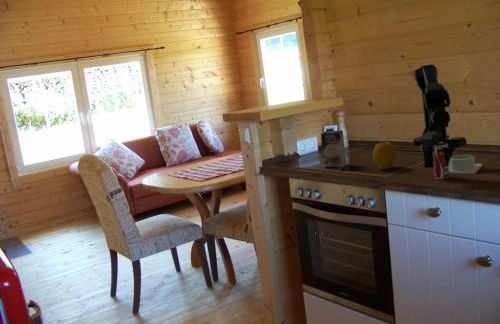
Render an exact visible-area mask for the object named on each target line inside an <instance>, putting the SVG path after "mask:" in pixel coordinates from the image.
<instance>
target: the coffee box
mask: <svg viewBox="0 0 500 324" xmlns="http://www.w3.org/2000/svg"><path fill="white" fill-rule="evenodd" d="M320 139H321V147H322V155H323V156H322V157H323V166H324V167H337V168H345V166H346V165H347V159H346V148H345V139H344V131H343V130H329V131H327V130H326V131H323V132H321V133H320Z"/></svg>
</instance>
